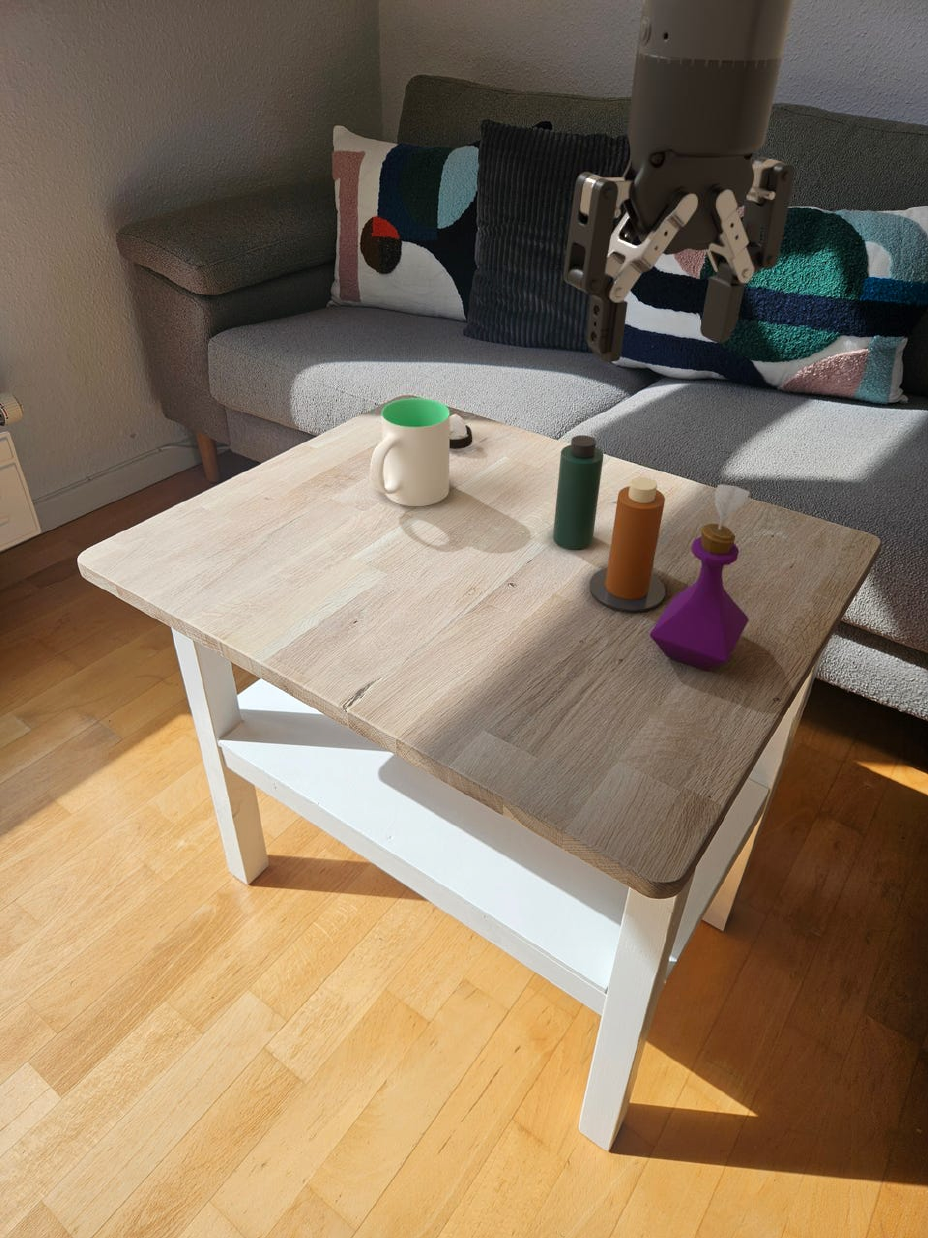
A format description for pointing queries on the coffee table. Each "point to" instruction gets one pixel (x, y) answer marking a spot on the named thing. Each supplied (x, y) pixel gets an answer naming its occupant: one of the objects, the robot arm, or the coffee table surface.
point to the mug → (413, 452)
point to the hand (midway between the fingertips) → (661, 347)
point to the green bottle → (577, 493)
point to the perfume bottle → (706, 597)
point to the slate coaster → (626, 605)
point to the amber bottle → (634, 539)
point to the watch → (460, 433)
